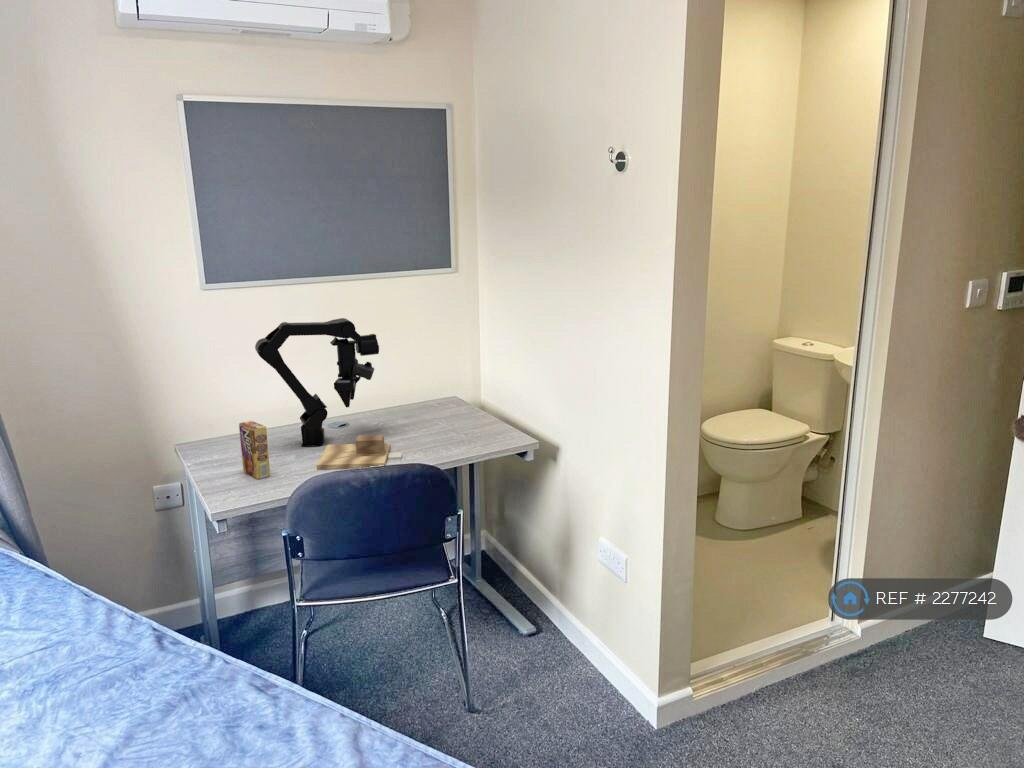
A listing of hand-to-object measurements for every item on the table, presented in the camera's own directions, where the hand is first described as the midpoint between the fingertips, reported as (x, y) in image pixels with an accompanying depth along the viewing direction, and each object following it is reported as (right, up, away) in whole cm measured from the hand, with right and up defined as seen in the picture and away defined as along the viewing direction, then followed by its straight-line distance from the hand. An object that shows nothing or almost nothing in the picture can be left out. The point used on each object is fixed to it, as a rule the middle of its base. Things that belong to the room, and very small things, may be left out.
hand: (349, 403), depth 248 cm
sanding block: (+10, -15, -16) cm, 24 cm away
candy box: (-21, -20, -28) cm, 40 cm away
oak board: (+5, -17, -16) cm, 24 cm away
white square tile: (+17, -17, -15) cm, 29 cm away
